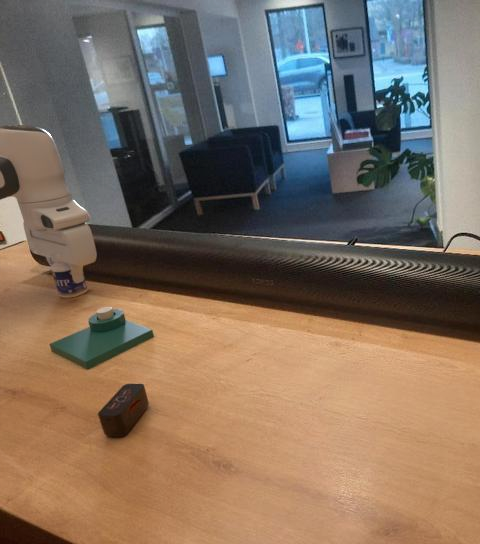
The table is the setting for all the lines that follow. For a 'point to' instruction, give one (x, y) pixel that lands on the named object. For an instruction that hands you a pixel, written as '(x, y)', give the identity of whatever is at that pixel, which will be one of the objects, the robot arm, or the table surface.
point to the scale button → (105, 313)
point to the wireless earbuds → (123, 409)
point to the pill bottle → (66, 280)
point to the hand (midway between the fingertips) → (69, 279)
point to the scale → (101, 340)
